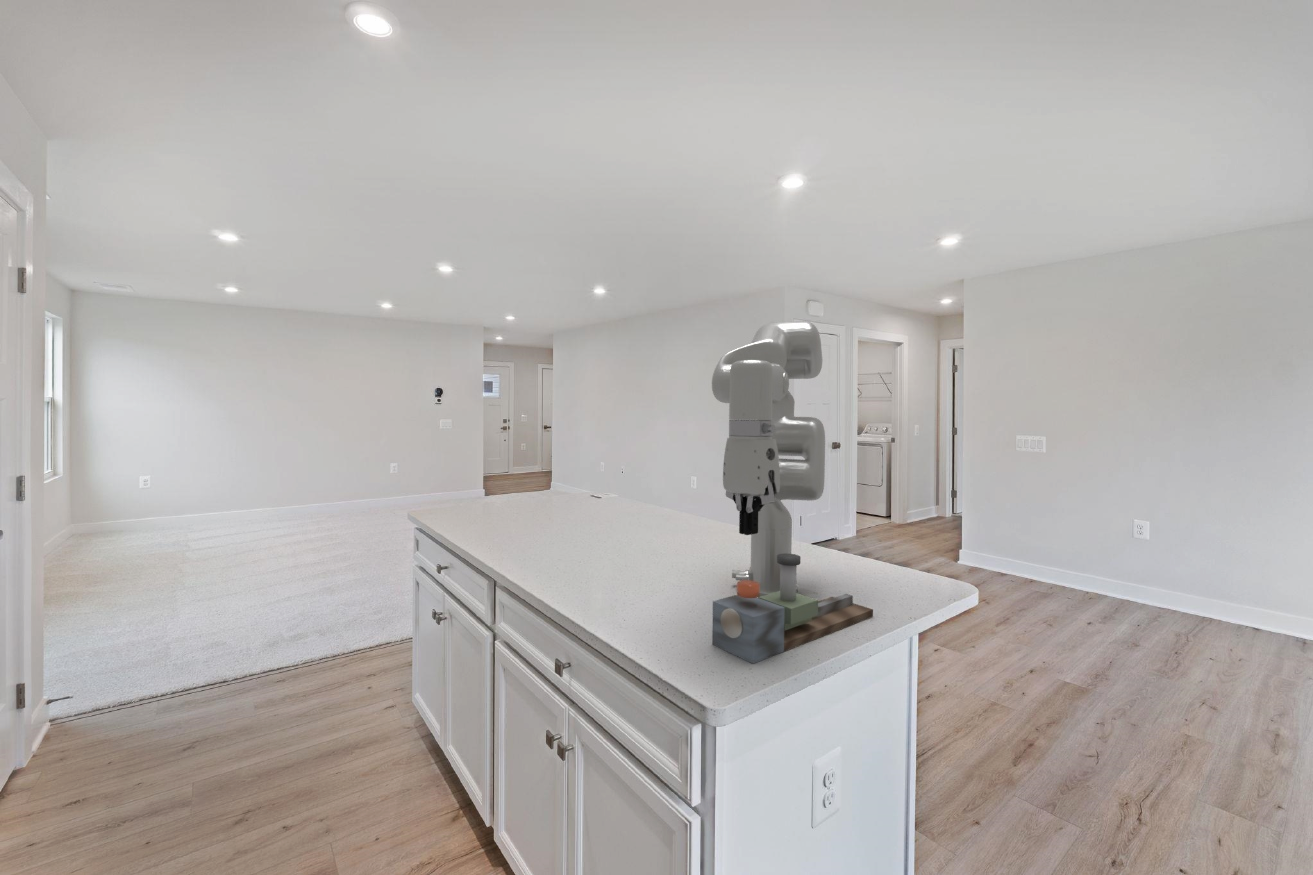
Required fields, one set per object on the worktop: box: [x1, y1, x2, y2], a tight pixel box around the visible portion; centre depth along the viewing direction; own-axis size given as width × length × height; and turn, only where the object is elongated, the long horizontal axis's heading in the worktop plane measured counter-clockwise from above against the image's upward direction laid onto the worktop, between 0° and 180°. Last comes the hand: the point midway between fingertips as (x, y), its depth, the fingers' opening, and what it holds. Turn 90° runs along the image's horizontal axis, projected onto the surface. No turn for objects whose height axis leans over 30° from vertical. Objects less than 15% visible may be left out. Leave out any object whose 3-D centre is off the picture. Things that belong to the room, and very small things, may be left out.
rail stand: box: [711, 593, 874, 664], centre depth 111 cm, size 37×10×8 cm, turn 128°
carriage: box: [757, 553, 819, 631], centre depth 109 cm, size 8×8×13 cm
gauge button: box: [736, 580, 760, 598], centre depth 102 cm, size 4×4×2 cm
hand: (748, 533), depth 101 cm, fingers closed
